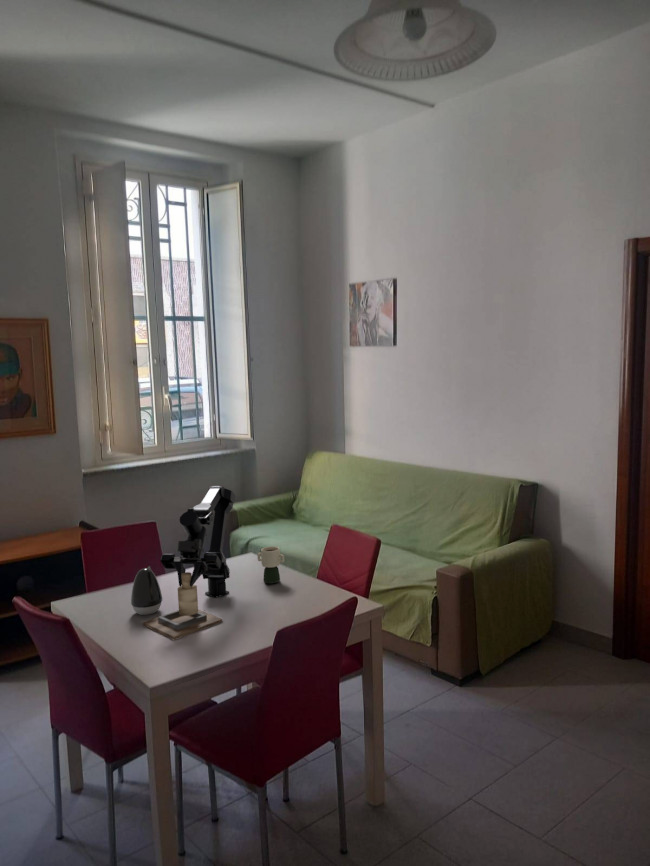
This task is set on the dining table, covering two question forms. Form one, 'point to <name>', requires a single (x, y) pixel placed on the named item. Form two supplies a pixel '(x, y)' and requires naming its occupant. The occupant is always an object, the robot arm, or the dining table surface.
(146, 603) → the black egg-shaped body
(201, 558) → the robot arm
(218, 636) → the dining table surface
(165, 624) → the board
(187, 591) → the wooden peg
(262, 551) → the cream and green trophy
